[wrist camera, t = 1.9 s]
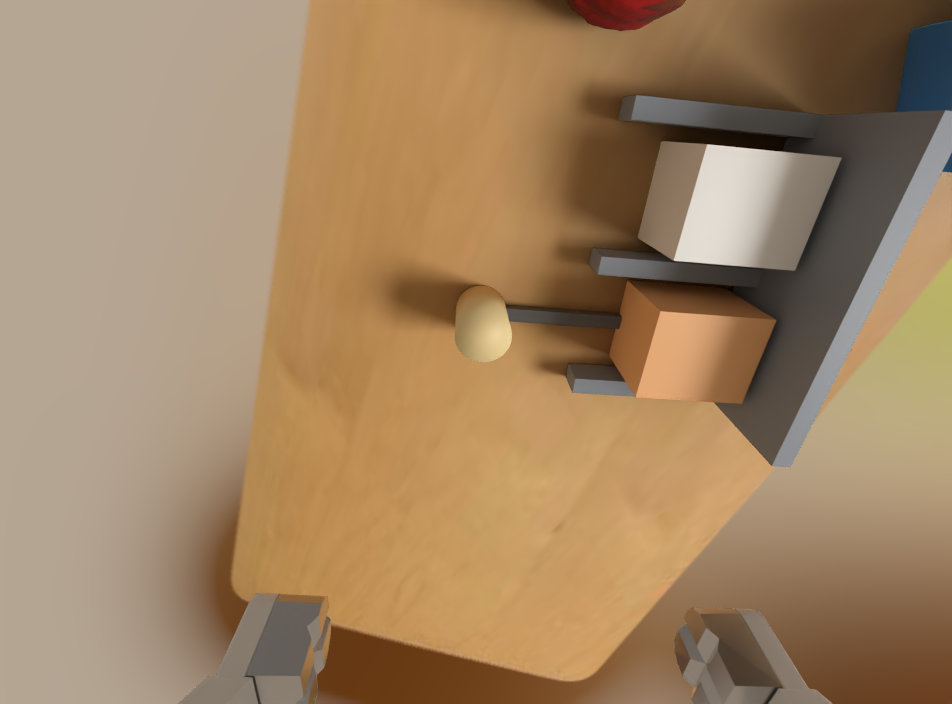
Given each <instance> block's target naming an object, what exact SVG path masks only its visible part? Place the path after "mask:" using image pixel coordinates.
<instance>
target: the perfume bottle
mask: <svg viewBox="0 0 952 704" xmlns="http://www.w3.org/2000/svg"><path fill="white" fill-rule="evenodd" d="M941 110H947V111H952V19H951V20H947V21H943V22H939V23H935V24H931V25H927V26H923V27H919V28H915V29H911V30H910V35H909V41H908V46H907V52H906V58H905V63H904V69H903V75H902V80H901V86H900V92H899V97H898V103H897V109H896V112H913V111H941ZM942 172H952V153H951V155H950V157H949V159H948V161H947V163H946V165H945V167H944V169H943V171H942Z"/></svg>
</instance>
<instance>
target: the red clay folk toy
mask: <svg viewBox="0 0 952 704" xmlns="http://www.w3.org/2000/svg"><path fill="white" fill-rule="evenodd" d="M685 1H686V0H567V2H568V4H569V5H570V7H571V8H572V9H573V10H574V11H575V12H577V13H578V14H579V15H581V16H582V17H583V18H585V20H586V22H587V23H589V24H591V25H595V26H599V27H602V28H605V29H614V30H619V31H624V30H636V29H639V28H641V27H643V26H645V25H647V24H649V23H650V22H652V21H653V20H655V19H658V18H660V17H662V16H664V15H666V14H668V13H670V12H672V11H674V10H676V9H677V8H679V7H680V6H682V5H683V4H684V2H685Z"/></svg>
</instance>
